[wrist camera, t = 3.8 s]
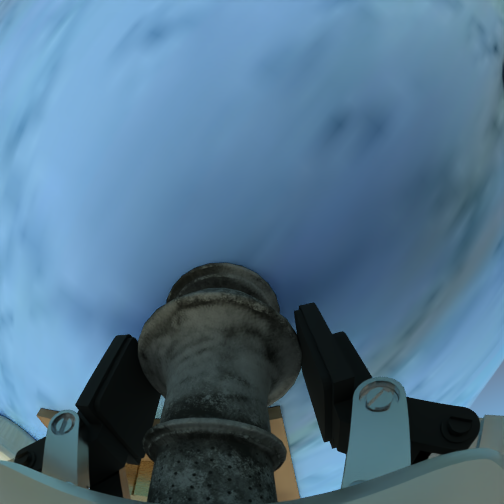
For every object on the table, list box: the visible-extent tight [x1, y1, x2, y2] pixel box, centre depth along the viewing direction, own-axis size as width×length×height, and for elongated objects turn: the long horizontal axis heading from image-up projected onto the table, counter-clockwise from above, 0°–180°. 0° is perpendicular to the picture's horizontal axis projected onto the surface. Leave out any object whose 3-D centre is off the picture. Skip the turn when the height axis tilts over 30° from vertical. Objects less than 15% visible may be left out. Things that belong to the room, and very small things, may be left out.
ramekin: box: [0, 416, 36, 461], centre depth 14 cm, size 11×11×5 cm
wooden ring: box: [125, 460, 154, 502], centre depth 15 cm, size 11×11×4 cm
